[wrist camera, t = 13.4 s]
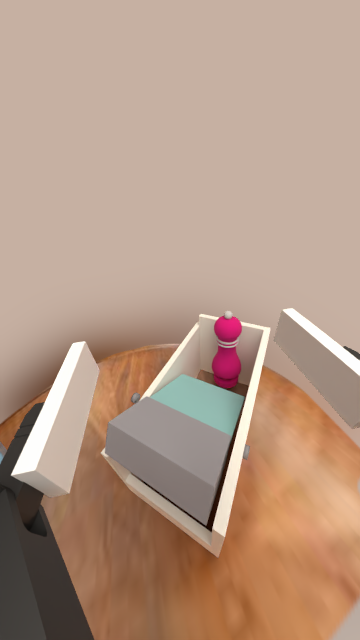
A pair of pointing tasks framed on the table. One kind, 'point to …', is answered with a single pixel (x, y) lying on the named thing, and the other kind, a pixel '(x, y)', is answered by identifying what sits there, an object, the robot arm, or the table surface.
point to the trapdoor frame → (251, 353)
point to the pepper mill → (227, 351)
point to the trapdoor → (178, 441)
